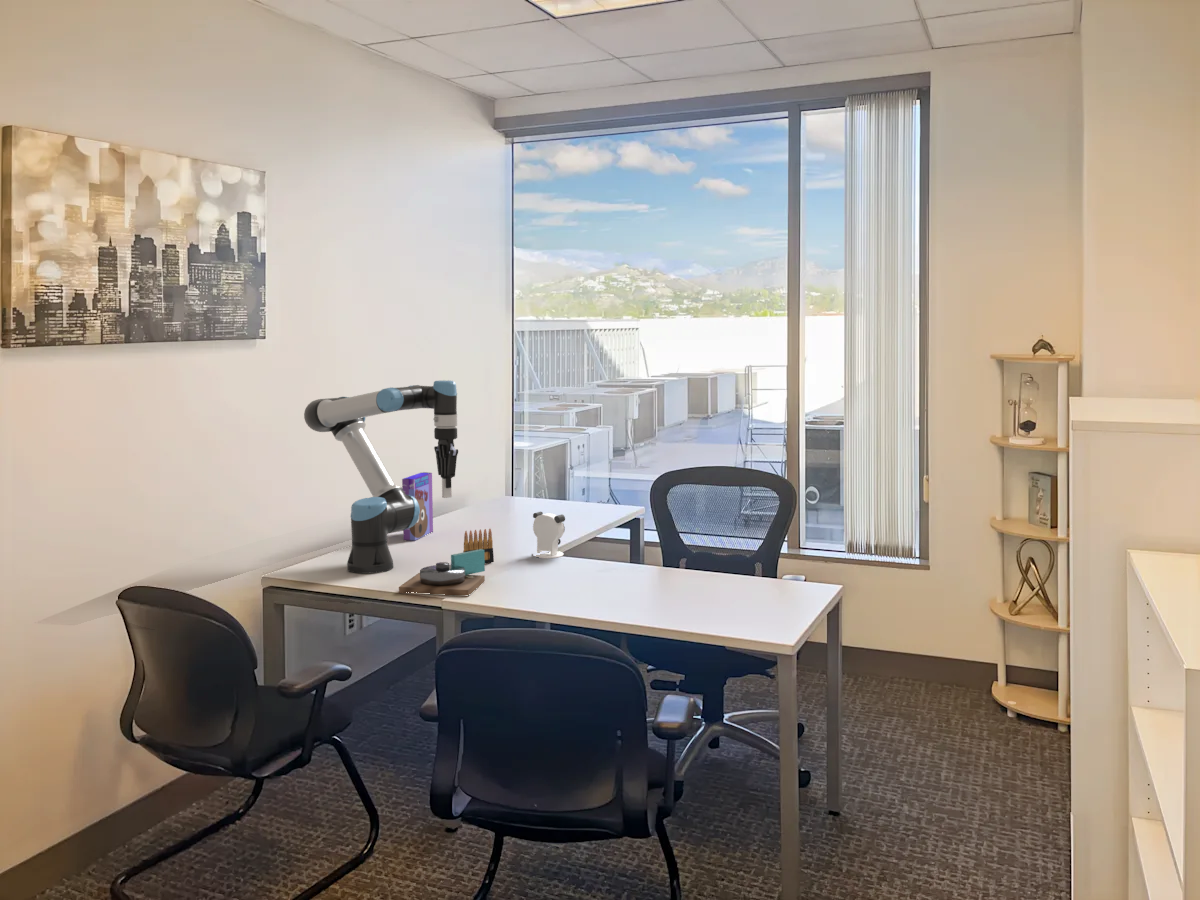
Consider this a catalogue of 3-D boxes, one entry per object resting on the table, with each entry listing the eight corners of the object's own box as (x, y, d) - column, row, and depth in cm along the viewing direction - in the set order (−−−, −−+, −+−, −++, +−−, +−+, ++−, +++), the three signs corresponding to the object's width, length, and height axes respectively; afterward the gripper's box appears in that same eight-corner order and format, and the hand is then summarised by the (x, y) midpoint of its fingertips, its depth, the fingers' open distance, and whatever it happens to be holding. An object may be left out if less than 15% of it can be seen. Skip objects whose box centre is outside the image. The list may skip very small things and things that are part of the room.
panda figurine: (571, 554, 361) (571, 512, 359) (553, 560, 351) (552, 517, 350) (544, 550, 367) (543, 509, 365) (525, 555, 358) (525, 514, 356)
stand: (399, 593, 307) (398, 586, 307) (418, 578, 325) (418, 572, 324) (468, 596, 303) (468, 589, 303) (484, 581, 321) (484, 574, 321)
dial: (437, 587, 304) (437, 564, 303) (411, 579, 314) (410, 557, 313) (496, 574, 320) (496, 552, 319) (469, 567, 330) (469, 546, 329)
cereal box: (415, 541, 382) (413, 478, 379) (403, 540, 383) (402, 478, 380) (433, 532, 399) (431, 472, 396) (421, 531, 400) (420, 472, 397)
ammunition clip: (464, 565, 343) (464, 531, 341) (462, 564, 344) (462, 530, 343) (493, 562, 348) (493, 528, 346) (492, 561, 349) (491, 527, 348)
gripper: (426, 426, 336) (428, 495, 339) (444, 429, 325) (445, 501, 328) (446, 425, 340) (448, 493, 343) (465, 428, 330) (466, 498, 332)
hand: (446, 497), depth 336 cm, fingers closed
